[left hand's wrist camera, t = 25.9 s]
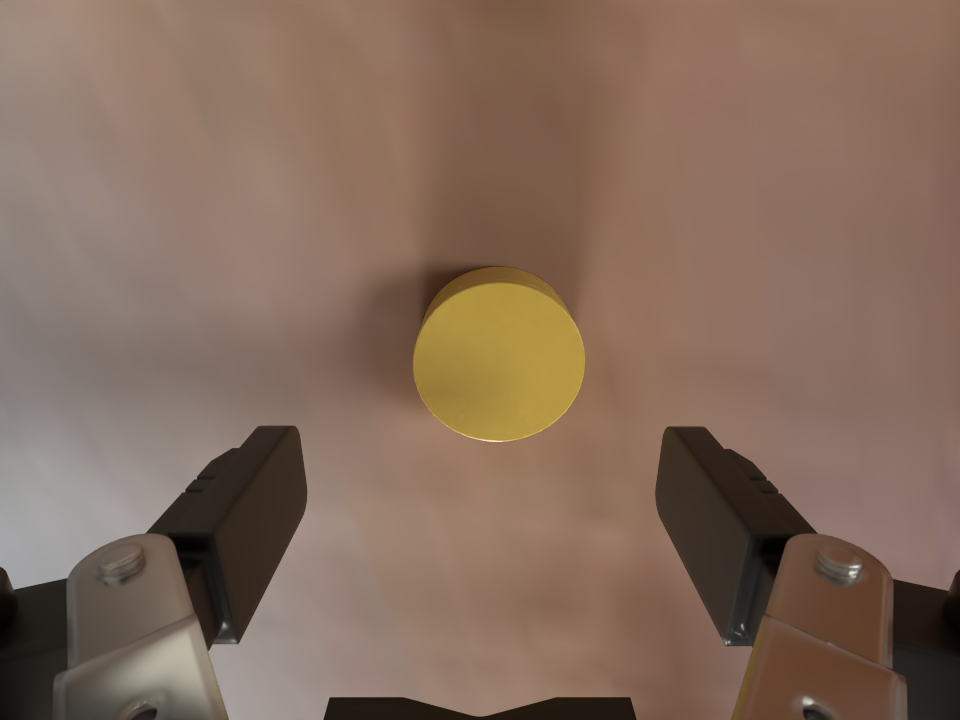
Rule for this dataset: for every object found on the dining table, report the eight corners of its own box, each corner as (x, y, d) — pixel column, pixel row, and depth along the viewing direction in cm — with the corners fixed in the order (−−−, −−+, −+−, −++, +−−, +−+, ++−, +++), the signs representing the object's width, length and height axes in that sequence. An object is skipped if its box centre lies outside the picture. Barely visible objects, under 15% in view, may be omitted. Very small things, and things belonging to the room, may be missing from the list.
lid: (536, 428, 18) (543, 462, 16) (400, 381, 17) (390, 411, 15) (599, 299, 16) (615, 319, 14) (450, 242, 15) (446, 255, 14)
